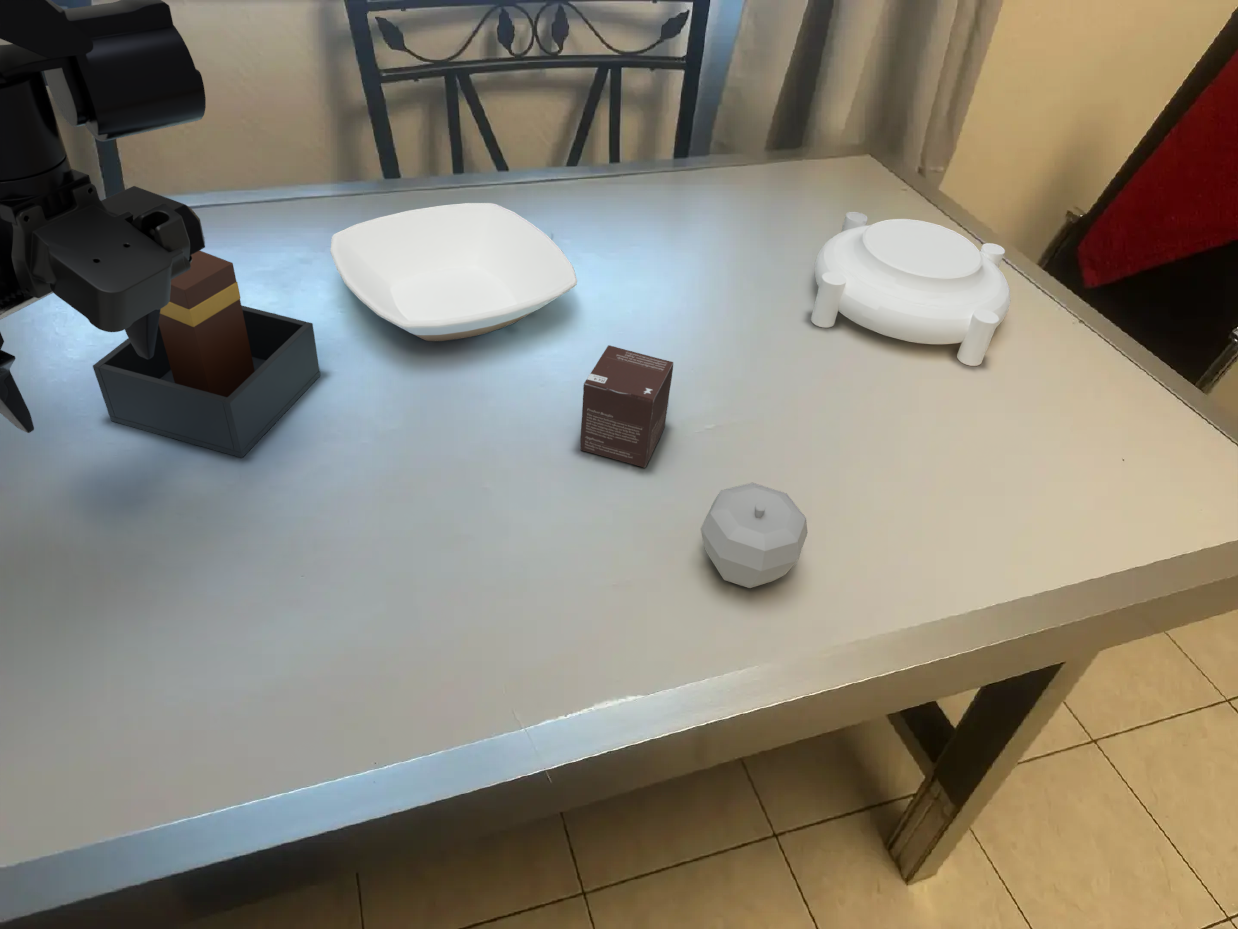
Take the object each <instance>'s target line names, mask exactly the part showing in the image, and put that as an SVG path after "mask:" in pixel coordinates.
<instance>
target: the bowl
mask: <svg viewBox="0 0 1238 929" xmlns="http://www.w3.org/2000/svg"><path fill="white" fill-rule="evenodd" d="M330 239H331V240H330V249H329V250H330V251H329V252H330V255H331V258H332V260H333V264H334V265H335V269H336V271H337V273H338V274H339V276H340V277H341V279H342V281H343V282H344V285H345V286H346V287H347V288H348V289H349V291H351V292H352V293H353V294H354V295H355V296H356V297H357V299H359V300H360V302H362V303H363V304H364V305H365V306H366V307H368V308H369V309H370V310H371V311H372V312H373V313H375V314H376V315H377V316H378V317H380V318H382V319H384V320H385V321H388V322H389V323H391V324H393V325H395V326H396V327H399V328H400V329H402V330H404V331H406V332H408V333H410V334H412V335H414V336H415V337H418V338H419V339H421V340H424V341H426V342H445V341H453V340H454V341H455V340H460V339H461V340H462V339H467V338H468V339H469V338H472V337H476V336H481V335H486V334H488V333H492V332H494V331H495V332H496V331H498V330H500V329H502V328H503V329H504V328H505V327H507V326H510V325H512V324H514V323H517V322H519V321H520V320H522V319H524V318H526V317H527V316H529V315H530V314H532V313H534V312H536V311H538V310H539V309H542V308H543V307H545V306H546V305H548V304H549V303H551V302H552V301H554V300H556V299H558V298H559V297H561V296H563V295H564V294H566V293H568V292H569V291H571V290H573V289H574V288H575V287H577V284H578V278H577V276H576V275H577V274H576V272H575V267H574V265H573V264H572V262H570V260H569V259H568V257H567V255H566V254H565V253H564V252H563V251H562V249H561V248H560V247H559V246H558V245H557V244H556V243H555V241H554V240H553V239H551V237H550V236H548V235H547V234H546V232H544V231H542V230H541V229H539V228H538V227H537V226H535V225H534V224H533V223H532V222H530V221H529V220H527V219H526V218H524V217H523V216H521V215H519V214H518V213H517V212H515V211H513V210H510V209H508V208H506V207H504V206H501V205H500V204H496V203H493V202H464V203H454V204H453V203H452V204H445V205H444V204H443V205H436V206H430V207H429V206H428V207H422V208H416V209H409V210H405V211H401V212H397V213H396V212H395V213H392V214H388V215H383V216H379V217H376V218H371V219H369V220H366V221H362V222H358V223H355V224H353V225H351V226H349V227H347V228H344V229H342V230H340V231H338V232H335V233H333V234H332V235H331V238H330Z"/></svg>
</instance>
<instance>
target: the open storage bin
mask: <svg viewBox="0 0 1238 929" xmlns="http://www.w3.org/2000/svg"><path fill="white" fill-rule="evenodd" d="M241 306H242V311H243V316H244V321H245V326H246V331H247V336H248V341H249V345H250V350H251V355H252V360H253V365H254V370H255V372H254V373H253V374H251V375H250V376H249V377H248V378H247V379H246V380H245V381H244V382H243V383H242V384H241V385H240V386H239V387H238V388H237V389H236V390H235V391H234V392H233V393H232V394H231V395H229V396H228V397H224V396H220V395H216V394H213V393H209V392H205V391H202V390H198V389H194V388H191V387H187V386H183V385H180V384H176V383H175V382H174V378H173V375H172V371H171V367H170V364H169V360H168V356H167V353H166V349H165V345H164V342H163V338H162V334H161V331H160V327H159V324H158V330H157V337H156V344H155V351H154V356H153V357H152V358H150V359H146V358H143V357H141V356H139V355H138V354H137V352H136V351H135V349H134V347H133V345H132V343H131V341H130V340H129V338H128V337H127V338H126V339H125V340H124V341H122V342H121V343H119V344H118V345H117V346H116V347H115V348H113V349H112V350H111V351H109V352H108V353H107V354H106V355H104V356H103V357H102V358H101V359H99V360H97V361H96V363H93V365H92V369H93V372H94V374H95V378H96V381H97V384H98V386H99V388H100V392H101V395H102V398H103V401H104V404H105V408H106V410H107V412H108V415H109V418H110V421H111V422H113V423H117V424H121V425H124V426H127V427H131V428H135V429H138V430H142V431H144V432H145V431H146V432H149V433H153V434H156V435H160V436H162V437H163V436H164V437H167V438H171V439H174V440H178V441H181V442H185V443H187V444H192V445H195V446H199V447H202V448H206V449H209V450H212V451H216V452H220V453H223V454H227V455H231V456H235V457H237V458H241V459H243V458H244V457H245V456H246V455H247V453H249V451H251V449H252V448H253V447H254V446H255V445H256V444H257V443H258V442H259V441H260V440H261V439H262V438H263V436H265V435H266V434H267V432H268V431H269V430H271V428H272V427H274V425H275V424H276V423H277V422H278V421H279V420H280V419H281V417H283V416H284V415H285V414H286V412H287V411H288V410H290V409H291V408H292V406H293V405H295V403H296V402H297V401H298V400H299V399H300V398H301V397H302V396H303V394H304V393H305V392H306V391H307V390H308V389H309V388H310V387H311V386H312V385H313V384H314V383H315V382H316V381H317V379H319V378H320V376H321V370H320V365H319V358H318V351H317V344H316V338H315V331H314V324H313V322H309V321H305V320H301V319H298V318H294V317H291V316H290V317H289V316H285V315H282V314H278V313H274V312H269V311H266V310H261V309H258V308H254V307H250V306H246V305H242V304H241Z"/></svg>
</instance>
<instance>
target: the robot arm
mask: <svg viewBox="0 0 1238 929" xmlns="http://www.w3.org/2000/svg"><path fill="white" fill-rule="evenodd" d="M0 40H3V41H5V42H7V43H8V44H0V321H1V320H3V319H5V318H7V317H9V316H11V315H13V314H15V313H17V312H19V311H20V310H23V309H24V308H26V307H29V306H30V305H32V304H34V303H36V302H38V301H40V300H41V299H44V298H47V297H48V296H50V295H52V294H54V295H55V296H56V297H58V298H59V299H61V300H62V301H63V302H64V303H66V304H67V305H69V306H70V307H71V308H72V309H74V310H75V311H77V313H79V314H80V315H81V316H83V317H84V318H86V319H87V320H88V322H89V323H90V324H91V325H92V326H93V327H95V328H96V329H98V330H100V331H103V332H107V333H119V332H123V331H124V332H125V334H126V336H127V339H128V338H129V340H130V341H131V343H132V345H133V347H134V349H135V351H136V352H137V354H138V355H139V356H141V357H143V358H146V359H150V358H152V357H153V356H154V351H155V344H156V337H157V330H158V324H159V317H160V311H161V308H163V307H165V306H166V305H167V304H168V303H169V301H170V290H171V280H172V279H174V278H175V277H177V276H179V275H181V274H183V273H184V272H186V271H188V270H190V268H191V265H190V263H191V262H192V256H191V255H192V254H194V253H196V252H198V251H199V250H200V251H202V250H203V249H205V248H206V240H205V235H204V231H203V226H202V222H201V218H200V217H199V216H198V214H196V213H195V211H194V210H193V209H192V207H190V206H189V205H187V204H186V203H183V202H180V201H177V200H174V199H172V198H168V197H166V196H163V195H160V194H157V193H155V192H152V191H149V190H147V189H144V188H141V187H139V186H136V185H133V186H130V187H128V188H126V189H124V190H122V191H119V192H117V193H114V194H113V195H110V196H108V197H106V198H104V199H100V196H99V193H98V189H97V187H96V185H95V184H93V183H92V181H91V177H90V174H87V173H84V172H82V171H80V170H76V169H73V168H72V166H71V162H70V159H69V157H68V152H67V150H66V146H65V143H64V140H63V136H62V134H61V130H60V127H59V123H58V120H57V118H56V114H55V111H54V107H53V104H52V101H51V97H50V94H51V96H52V99H53V101H54V103H55V106H56V107H57V110H58V111H59V112H60V114H61V117H62V118H63V119H64V120H65V121H66V123H68V125H69V126H70V127H72V128H78V127H83V126H85V128H86V130H87V131H88V132H89V133H90V134H91V136H93V138H95V139H96V140H97V141H99V142H108V141H111V140H116V139H121V138H126V137H131V136H134V135H138V134H143V133H144V134H145V133H148V132H153V131H157V130H161V129H166V128H171V127H176V126H180V125H184V124H185V125H186V124H190V123H193V122H198V121H200V120H203V117H204V116H205V112H206V108H207V106H206V104H207V103H206V102H207V101H206V92H205V84H204V80H203V75H202V73H201V72H200V70H199V69H197V68H196V66H195V65H196V64H195V63H194V60H193V57H192V54H191V53H190V50H189V47H188V46H187V44H186V42H185V40H184V38H183V36H182V35H181V33H180V32H179V30H178V29H177V27H176V26H175V25H174V21H173V16H172V12H171V8H170V5H169V4H168V3H167V2H165V1H163V0H117V1H113V2H107V3H100V4H92V5H86V6H85V5H84V6H78V7H71V8H65V9H64V8H62V7H61V6H60V5H58V4H56V3H55V2H54V1H52V0H0ZM43 72H44V75H43ZM44 76H45V78H44ZM45 80H46V81H45ZM46 83H47V85H46ZM47 86H48V88H47ZM48 89H49V91H48ZM49 92H50V94H49ZM4 343H5V340H4V337H3V334H2V332H1V331H0V414H1V415H2V416H3V417H4V418H5V419H7V421H9V422H10V423H11V424H12V425H13V426H15V427H16V428H17V429H19V430H20V431H22V432H25V433H27V434H30V433H32V432H33V431H34V430H35V426H34V422H33V419H32V418H33V417H32V415H31V412H30V410H29V408H28V405H27V404H26V402H25V399H24V397H23V395H22V393H21V392H20V391H21V390H20V389H19V386H18V385H17V383H16V380H15V379H14V377H13V375H12V373H11V372H12V371H11V368H12V366H13V364H14V363H15V361H16V356H15V355H14V354H11V353H9V352H7V351H5V350H3V349H2V348H3V346H4Z"/></svg>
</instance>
